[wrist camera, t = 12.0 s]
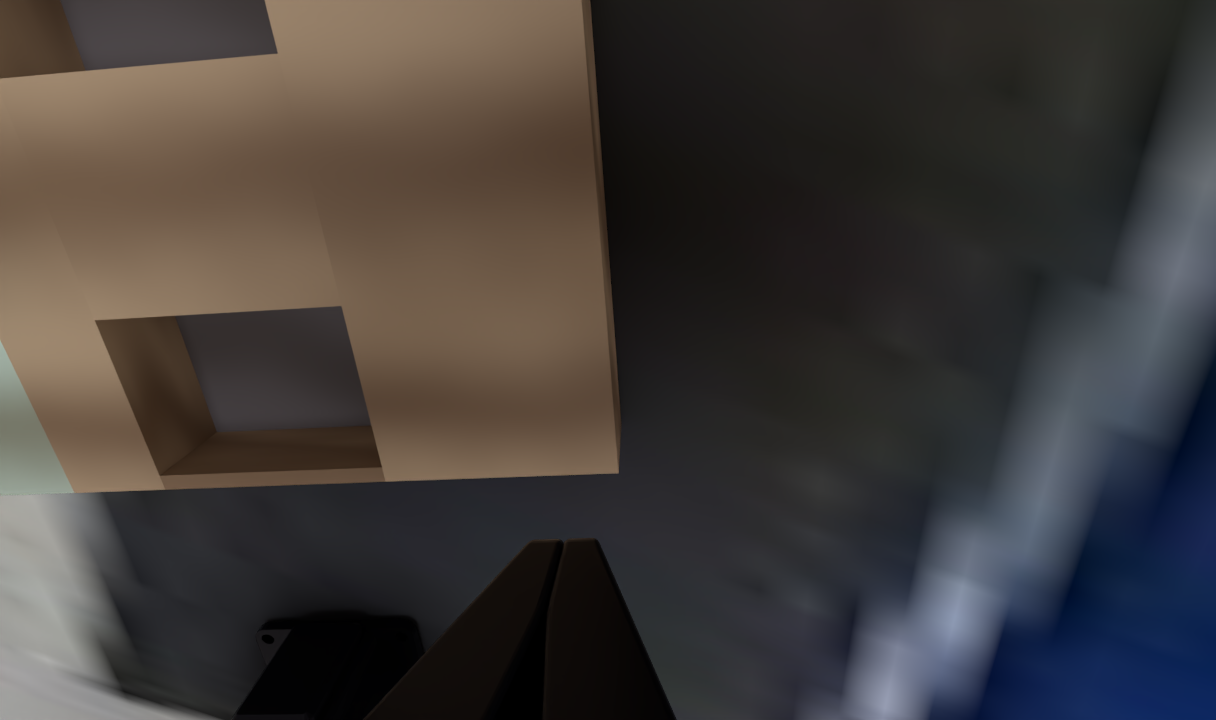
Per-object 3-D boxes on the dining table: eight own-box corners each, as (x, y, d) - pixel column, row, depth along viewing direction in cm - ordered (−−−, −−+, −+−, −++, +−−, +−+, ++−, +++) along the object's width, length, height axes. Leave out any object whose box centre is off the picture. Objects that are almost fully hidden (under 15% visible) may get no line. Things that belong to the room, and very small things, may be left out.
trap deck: (621, 423, 20) (616, 515, 16) (-157, 456, 22) (-364, 546, 18) (573, -227, 14) (541, -396, 9) (-512, -97, 16) (-981, -182, 11)
